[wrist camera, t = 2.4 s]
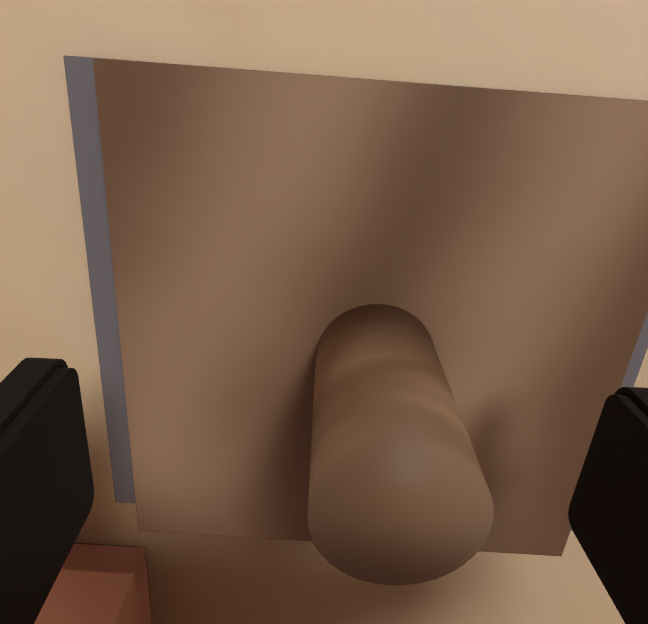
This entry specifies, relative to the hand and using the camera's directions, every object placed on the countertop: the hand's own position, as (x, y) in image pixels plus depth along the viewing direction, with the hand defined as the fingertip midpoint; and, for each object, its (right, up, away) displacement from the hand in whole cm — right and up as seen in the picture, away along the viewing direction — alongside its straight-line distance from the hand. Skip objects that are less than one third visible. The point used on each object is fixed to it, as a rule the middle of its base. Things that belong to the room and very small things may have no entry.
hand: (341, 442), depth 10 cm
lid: (+1, +2, +4) cm, 4 cm away
